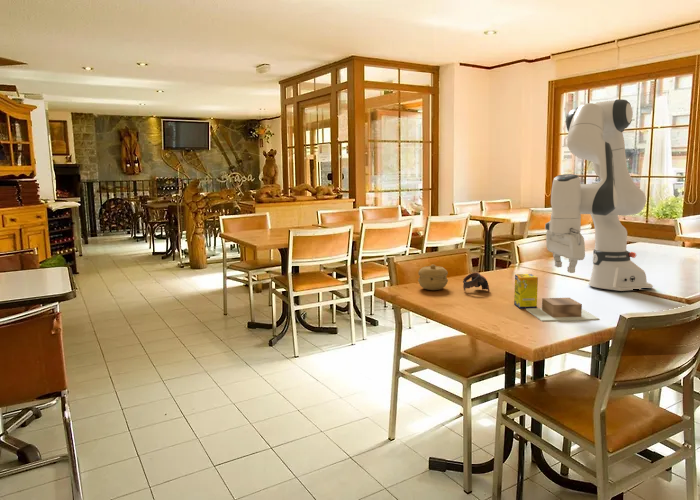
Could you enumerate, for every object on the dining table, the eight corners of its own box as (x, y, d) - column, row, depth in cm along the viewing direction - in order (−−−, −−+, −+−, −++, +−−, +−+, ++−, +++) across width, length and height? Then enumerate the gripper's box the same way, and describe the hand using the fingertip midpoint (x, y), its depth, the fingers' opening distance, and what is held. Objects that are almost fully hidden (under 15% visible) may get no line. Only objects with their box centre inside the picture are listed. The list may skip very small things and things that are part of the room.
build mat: (578, 308, 177) (578, 307, 177) (599, 319, 163) (599, 318, 163) (525, 309, 176) (525, 308, 176) (541, 321, 162) (541, 320, 162)
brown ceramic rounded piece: (492, 294, 199) (483, 276, 197) (469, 304, 202) (460, 286, 200) (489, 281, 210) (480, 264, 208) (467, 291, 213) (458, 274, 211)
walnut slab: (568, 309, 174) (569, 297, 173) (581, 316, 165) (581, 304, 165) (541, 310, 174) (542, 298, 173) (552, 317, 165) (553, 305, 164)
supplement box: (513, 304, 183) (514, 274, 182) (530, 304, 183) (531, 273, 182) (519, 309, 177) (520, 277, 176) (537, 308, 177) (538, 276, 176)
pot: (453, 290, 206) (453, 265, 205) (425, 293, 203) (425, 268, 202) (439, 285, 218) (439, 261, 216) (413, 287, 214) (413, 263, 213)
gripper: (591, 229, 155) (590, 275, 157) (561, 222, 175) (560, 263, 177) (570, 230, 155) (569, 276, 157) (542, 223, 175) (542, 264, 177)
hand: (564, 269), depth 167 cm, fingers open, 8 cm apart
